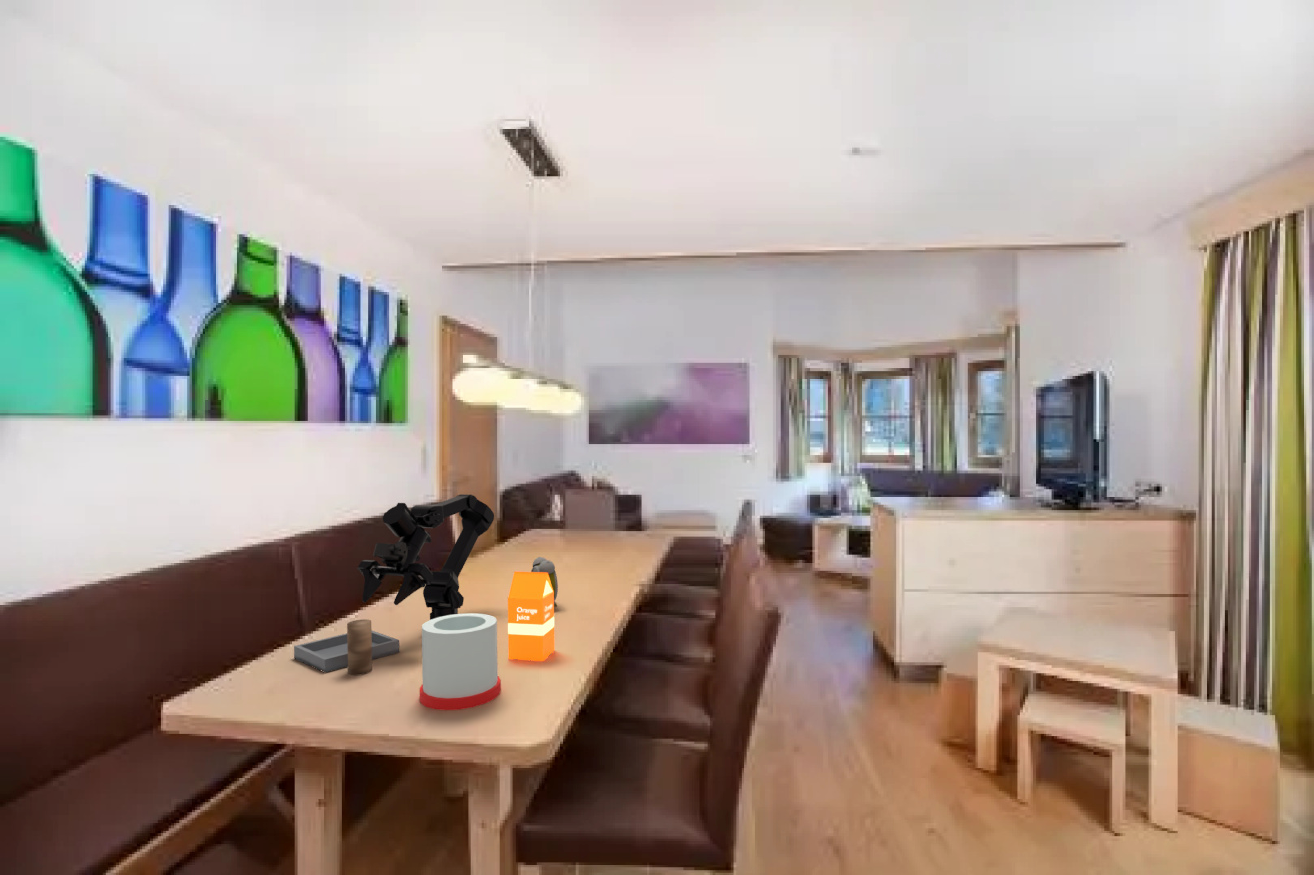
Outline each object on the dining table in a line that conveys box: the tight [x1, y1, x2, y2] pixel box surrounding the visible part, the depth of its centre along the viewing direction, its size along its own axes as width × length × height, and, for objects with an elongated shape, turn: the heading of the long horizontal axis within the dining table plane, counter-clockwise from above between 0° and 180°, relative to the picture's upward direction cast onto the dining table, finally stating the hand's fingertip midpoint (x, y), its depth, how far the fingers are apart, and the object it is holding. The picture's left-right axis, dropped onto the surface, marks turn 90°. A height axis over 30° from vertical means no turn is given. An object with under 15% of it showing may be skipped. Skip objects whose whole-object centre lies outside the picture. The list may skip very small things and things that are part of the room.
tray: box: [293, 629, 400, 673], centre depth 164 cm, size 18×16×3 cm
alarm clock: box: [530, 556, 559, 607], centre depth 206 cm, size 12×7×15 cm, turn 28°
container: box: [419, 612, 502, 711], centre depth 138 cm, size 16×16×15 cm
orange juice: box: [507, 571, 555, 662], centre depth 162 cm, size 8×9×20 cm
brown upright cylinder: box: [346, 619, 373, 676], centre depth 153 cm, size 5×5×11 cm
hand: (379, 602), depth 160 cm, fingers open, 9 cm apart
